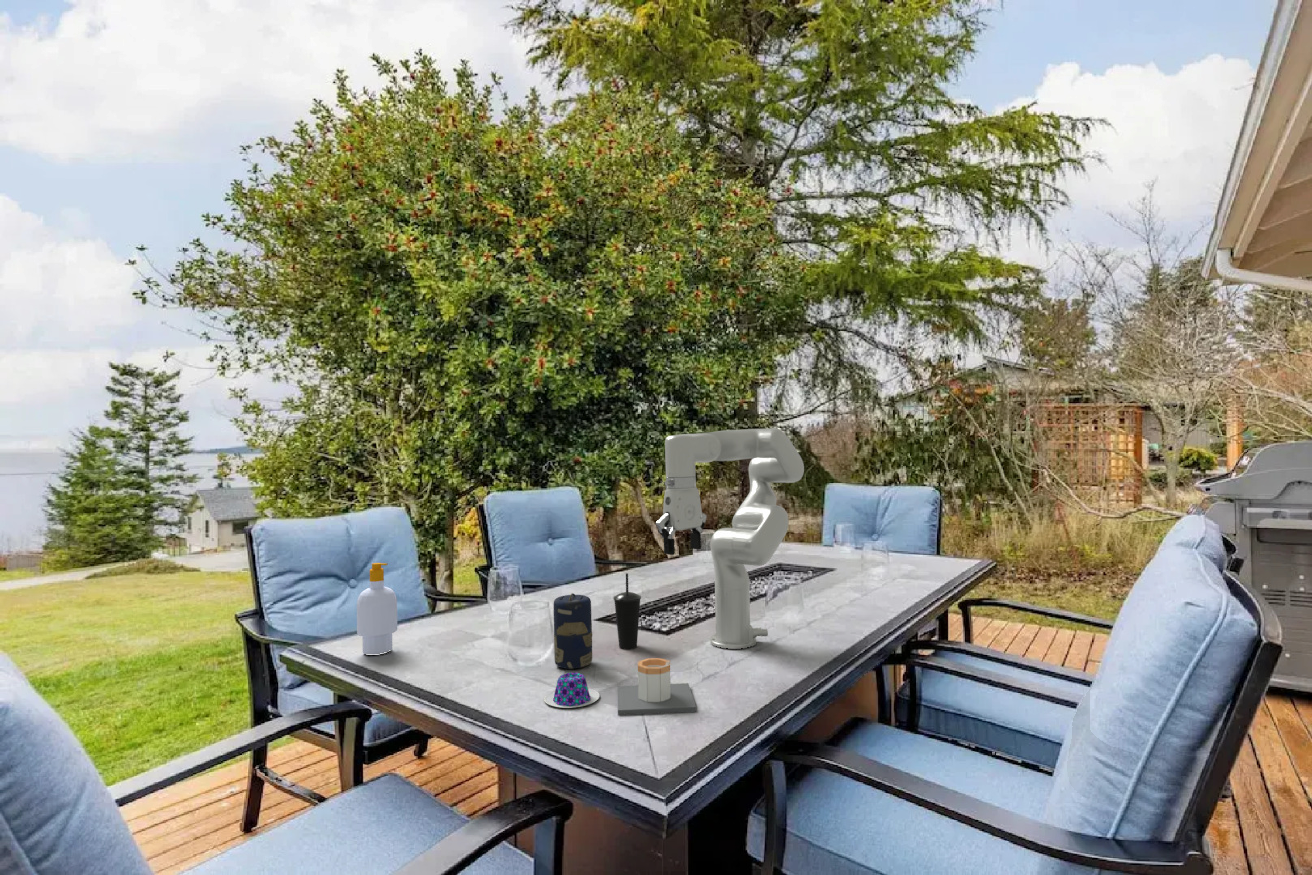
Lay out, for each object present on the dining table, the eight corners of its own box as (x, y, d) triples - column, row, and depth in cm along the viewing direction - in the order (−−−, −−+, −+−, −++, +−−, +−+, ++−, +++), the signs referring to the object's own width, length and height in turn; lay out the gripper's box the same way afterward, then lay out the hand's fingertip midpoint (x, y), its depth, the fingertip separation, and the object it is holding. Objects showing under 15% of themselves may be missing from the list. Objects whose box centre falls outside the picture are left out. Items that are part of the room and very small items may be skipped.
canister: (598, 661, 174) (597, 590, 174) (582, 673, 165) (581, 598, 165) (565, 657, 177) (563, 588, 177) (547, 669, 168) (546, 596, 168)
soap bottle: (383, 659, 178) (382, 567, 179) (348, 657, 180) (347, 566, 181) (405, 647, 188) (404, 560, 189) (372, 646, 190) (371, 560, 191)
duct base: (688, 687, 153) (688, 660, 153) (695, 711, 139) (695, 682, 139) (617, 690, 152) (617, 663, 152) (617, 714, 138) (617, 685, 138)
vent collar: (677, 695, 146) (676, 663, 146) (653, 704, 141) (653, 670, 141) (655, 687, 151) (654, 656, 151) (632, 696, 146) (631, 663, 146)
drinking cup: (638, 651, 181) (637, 576, 181) (610, 650, 182) (609, 575, 183) (644, 643, 188) (643, 571, 189) (618, 642, 190) (616, 570, 190)
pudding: (563, 715, 139) (563, 690, 139) (533, 700, 148) (533, 676, 148) (610, 700, 147) (610, 676, 147) (579, 686, 156) (579, 663, 156)
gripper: (667, 486, 163) (669, 558, 163) (714, 482, 175) (716, 548, 175) (645, 485, 168) (647, 554, 168) (693, 481, 180) (695, 545, 180)
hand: (682, 551), depth 172 cm, fingers open, 9 cm apart
